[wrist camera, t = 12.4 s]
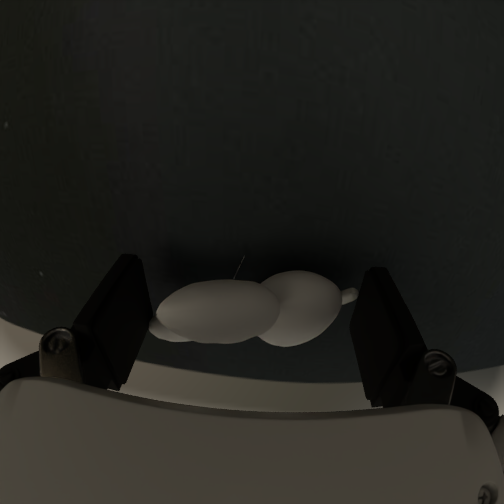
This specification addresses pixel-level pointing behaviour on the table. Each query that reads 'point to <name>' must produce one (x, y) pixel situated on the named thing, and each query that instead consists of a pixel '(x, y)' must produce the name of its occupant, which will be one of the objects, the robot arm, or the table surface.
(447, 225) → the table surface
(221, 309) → the rabbit figurine
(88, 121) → the table surface
